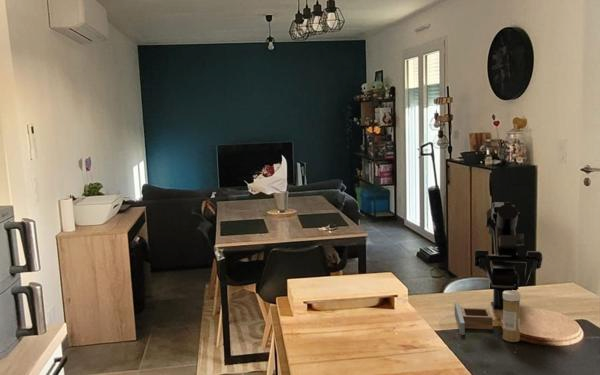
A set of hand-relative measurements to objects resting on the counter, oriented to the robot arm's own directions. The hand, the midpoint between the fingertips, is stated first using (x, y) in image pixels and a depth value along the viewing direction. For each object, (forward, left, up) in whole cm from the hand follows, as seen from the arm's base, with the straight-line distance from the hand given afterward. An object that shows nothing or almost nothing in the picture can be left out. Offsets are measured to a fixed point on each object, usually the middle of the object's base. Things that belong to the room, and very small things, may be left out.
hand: (508, 283), depth 159 cm
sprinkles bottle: (+8, -1, -14) cm, 16 cm away
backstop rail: (-4, -13, -14) cm, 20 cm away
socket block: (-4, -9, -14) cm, 17 cm away
